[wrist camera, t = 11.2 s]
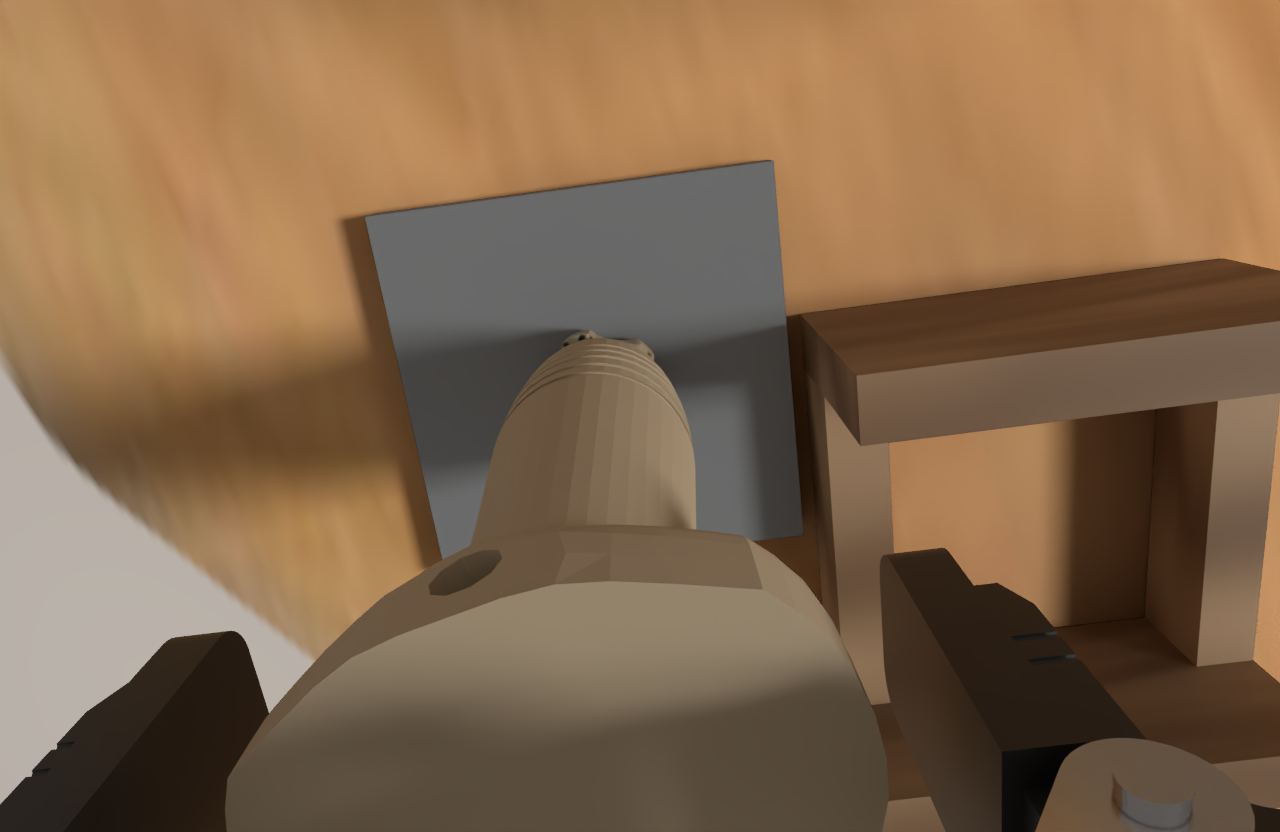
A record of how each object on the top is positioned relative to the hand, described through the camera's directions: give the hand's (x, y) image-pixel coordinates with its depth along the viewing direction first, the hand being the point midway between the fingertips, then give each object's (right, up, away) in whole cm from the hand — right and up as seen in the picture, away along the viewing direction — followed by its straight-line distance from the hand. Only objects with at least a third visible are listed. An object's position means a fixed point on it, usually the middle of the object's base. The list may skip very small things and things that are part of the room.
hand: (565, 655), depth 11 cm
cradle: (+11, +1, +14) cm, 18 cm away
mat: (0, +4, +12) cm, 13 cm away
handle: (0, +4, +12) cm, 13 cm away
